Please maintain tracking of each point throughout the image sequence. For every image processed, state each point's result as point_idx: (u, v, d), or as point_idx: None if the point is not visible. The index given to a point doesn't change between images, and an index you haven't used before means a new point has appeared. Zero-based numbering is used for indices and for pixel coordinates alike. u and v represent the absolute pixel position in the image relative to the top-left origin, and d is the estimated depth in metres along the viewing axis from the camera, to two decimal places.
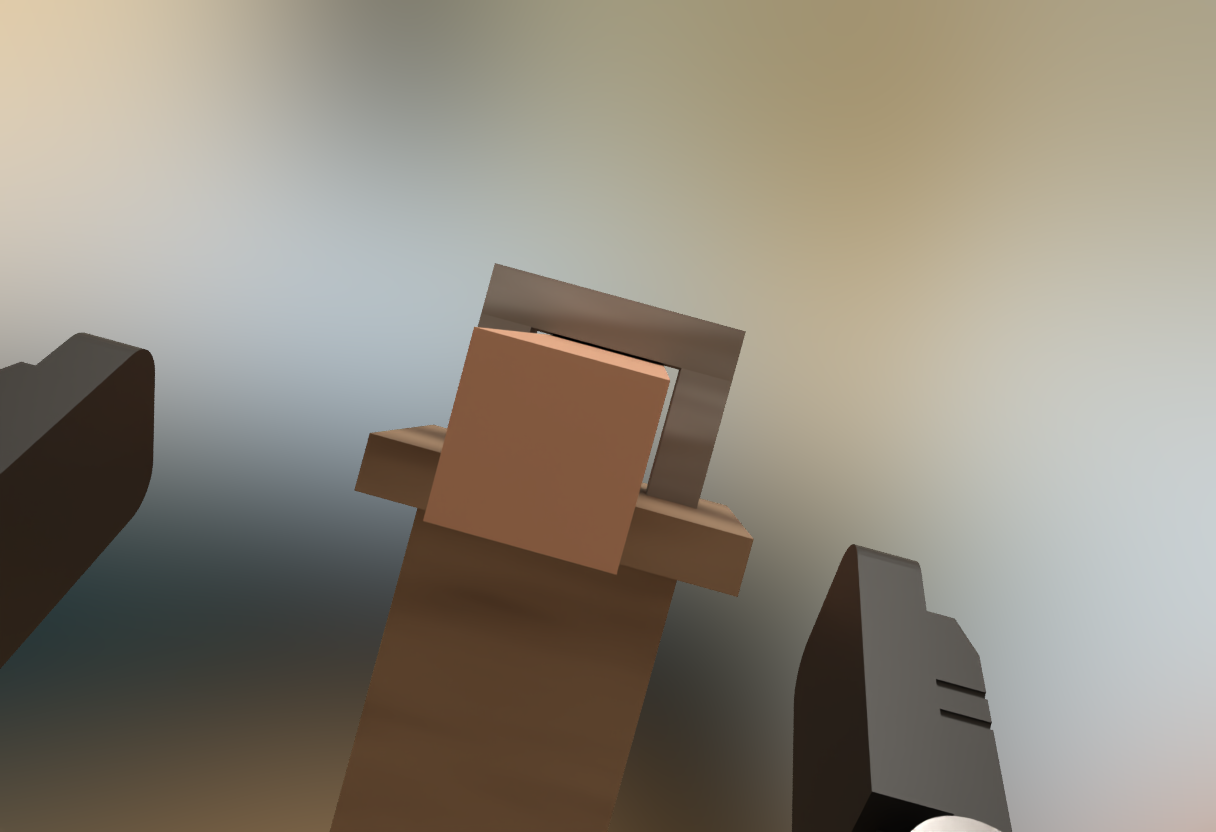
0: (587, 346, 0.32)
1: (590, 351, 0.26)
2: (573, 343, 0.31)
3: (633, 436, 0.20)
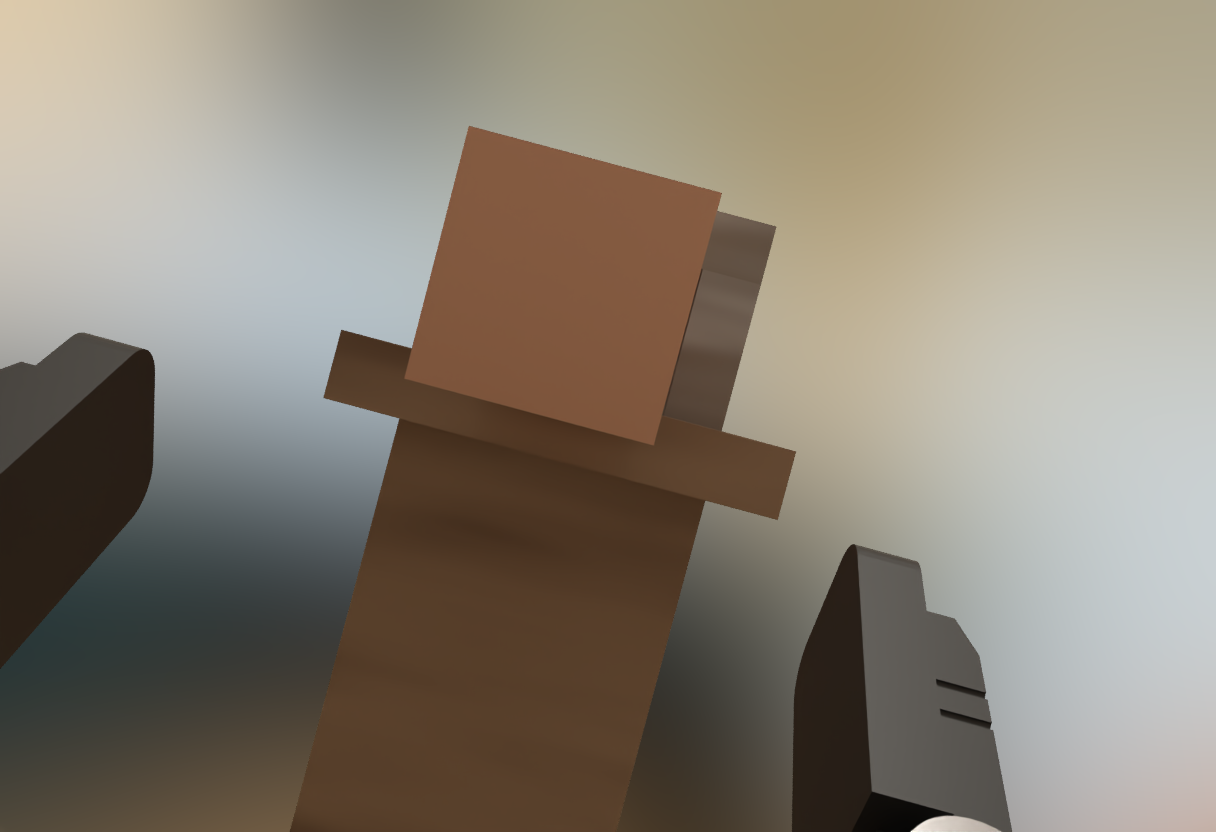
0: None
1: None
2: None
3: (675, 266, 0.16)
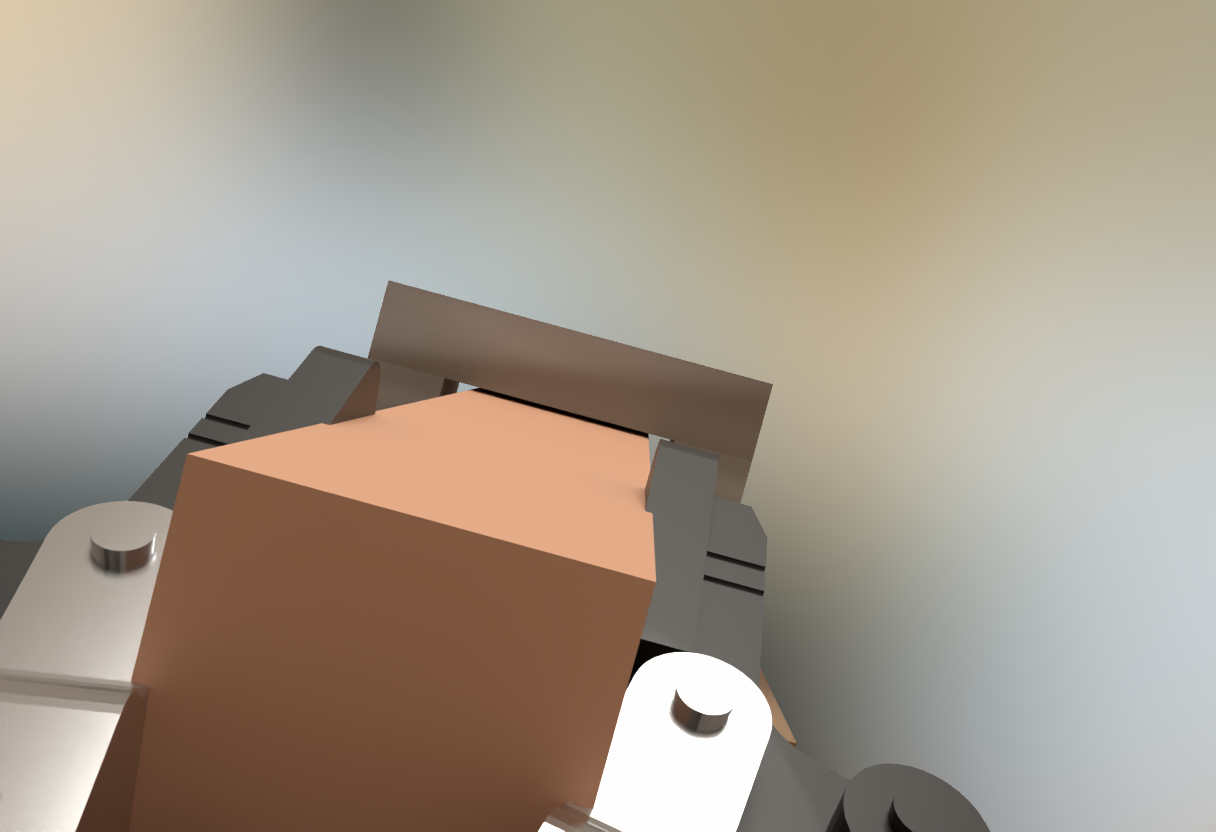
0: (527, 412, 0.21)
1: (513, 445, 0.15)
2: (501, 412, 0.19)
3: (569, 715, 0.08)
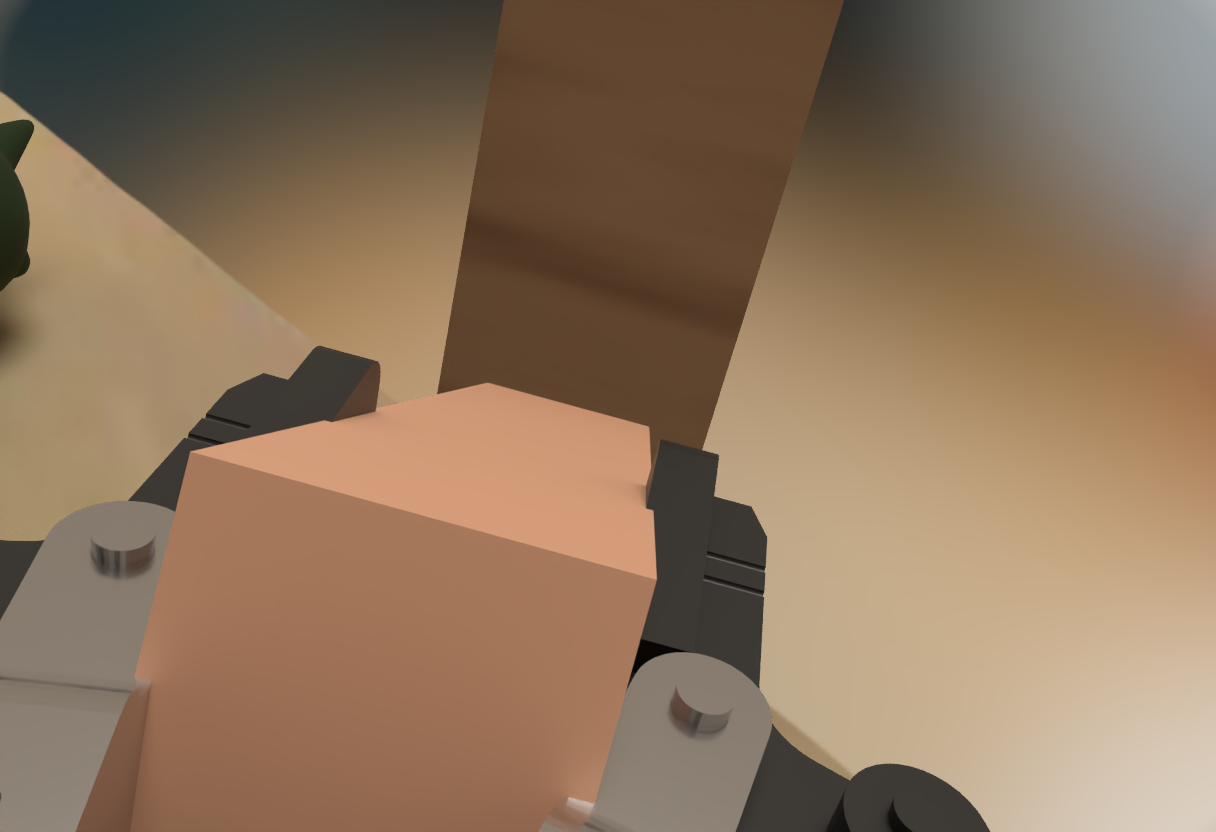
0: (529, 408, 0.21)
1: (515, 443, 0.15)
2: (503, 408, 0.19)
3: (569, 711, 0.08)
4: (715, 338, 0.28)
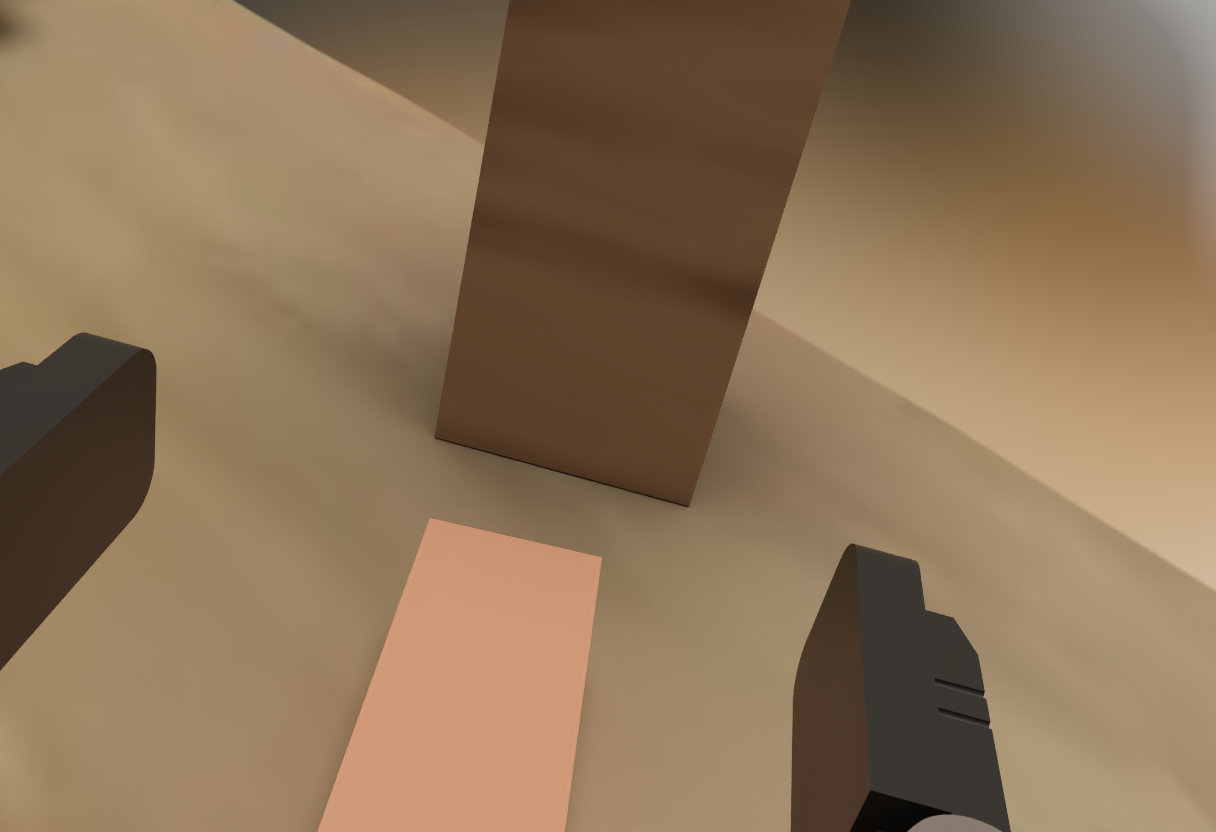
0: (457, 668, 0.20)
1: None
2: (422, 725, 0.19)
3: None
4: None
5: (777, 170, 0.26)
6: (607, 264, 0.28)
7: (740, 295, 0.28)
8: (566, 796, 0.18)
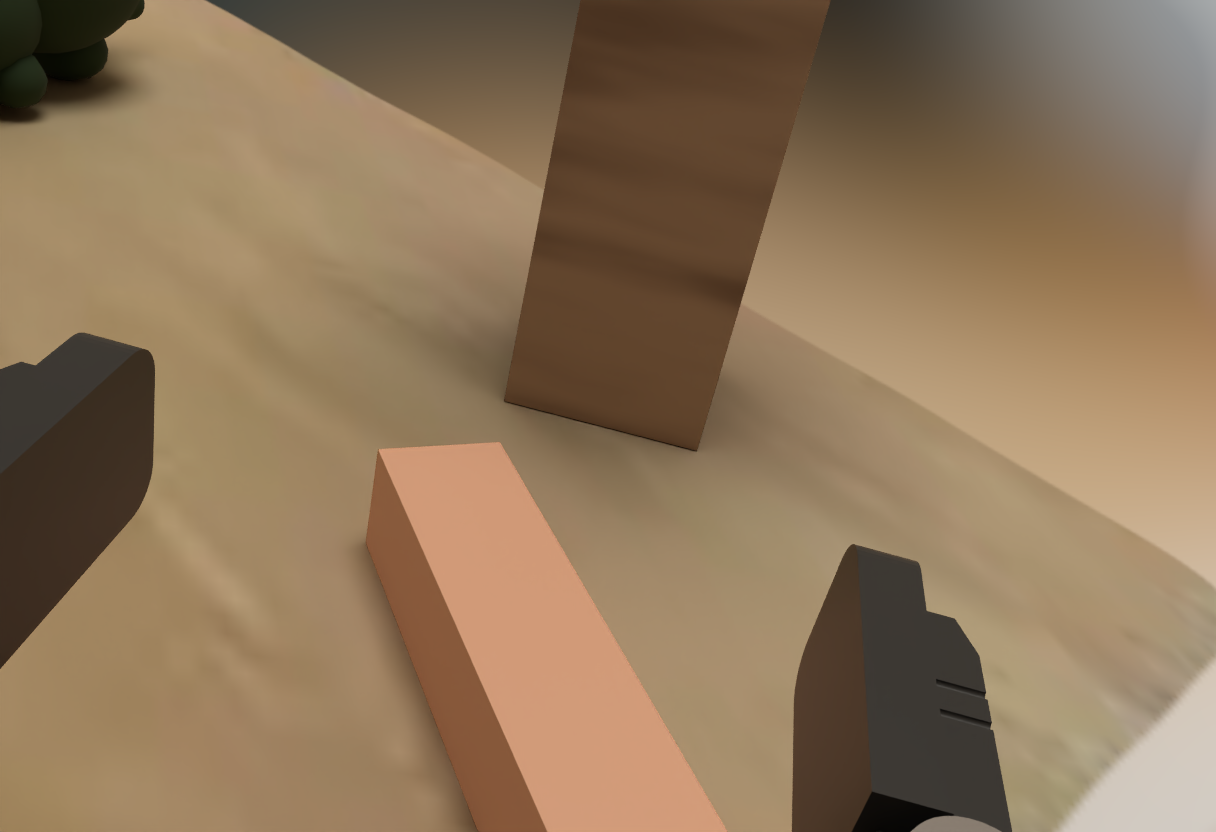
0: (467, 533, 0.29)
1: (571, 702, 0.25)
2: (474, 570, 0.28)
3: None
4: None
5: (758, 197, 0.36)
6: (634, 268, 0.38)
7: (732, 289, 0.38)
8: (578, 580, 0.28)
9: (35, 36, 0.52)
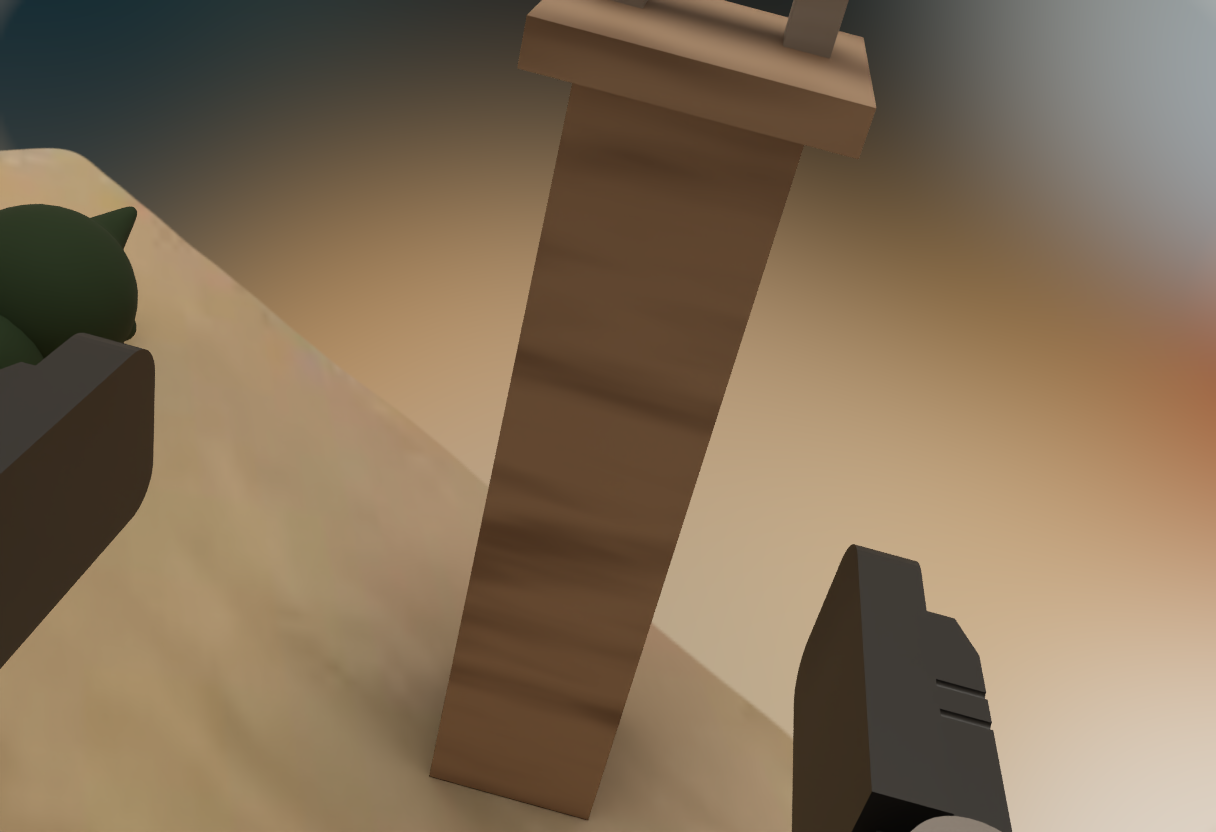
0: None
1: None
2: None
3: None
4: (695, 435, 0.39)
5: (628, 657, 0.45)
6: (532, 696, 0.46)
7: (611, 715, 0.46)
8: None
9: None
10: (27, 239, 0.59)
